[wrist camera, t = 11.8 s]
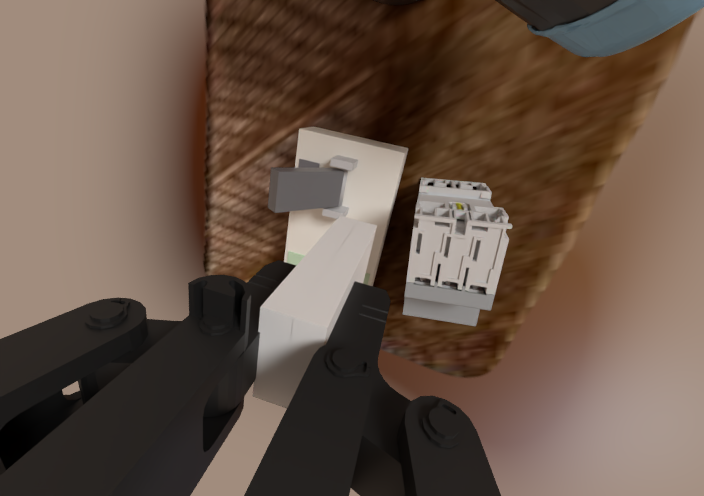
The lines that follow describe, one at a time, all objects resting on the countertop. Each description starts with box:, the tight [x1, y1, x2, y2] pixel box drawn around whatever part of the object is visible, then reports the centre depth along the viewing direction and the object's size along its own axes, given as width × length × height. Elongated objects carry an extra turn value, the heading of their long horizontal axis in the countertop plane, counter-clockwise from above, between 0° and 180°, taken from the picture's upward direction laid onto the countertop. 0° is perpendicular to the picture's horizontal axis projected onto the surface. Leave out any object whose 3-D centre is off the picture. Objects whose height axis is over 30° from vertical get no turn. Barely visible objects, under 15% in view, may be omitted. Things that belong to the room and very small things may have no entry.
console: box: [284, 127, 408, 286], centre depth 41 cm, size 22×12×8 cm, turn 169°
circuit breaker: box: [403, 178, 512, 326], centre depth 35 cm, size 8×14×15 cm, turn 177°
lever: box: [268, 168, 348, 213], centre depth 34 cm, size 4×1×9 cm
